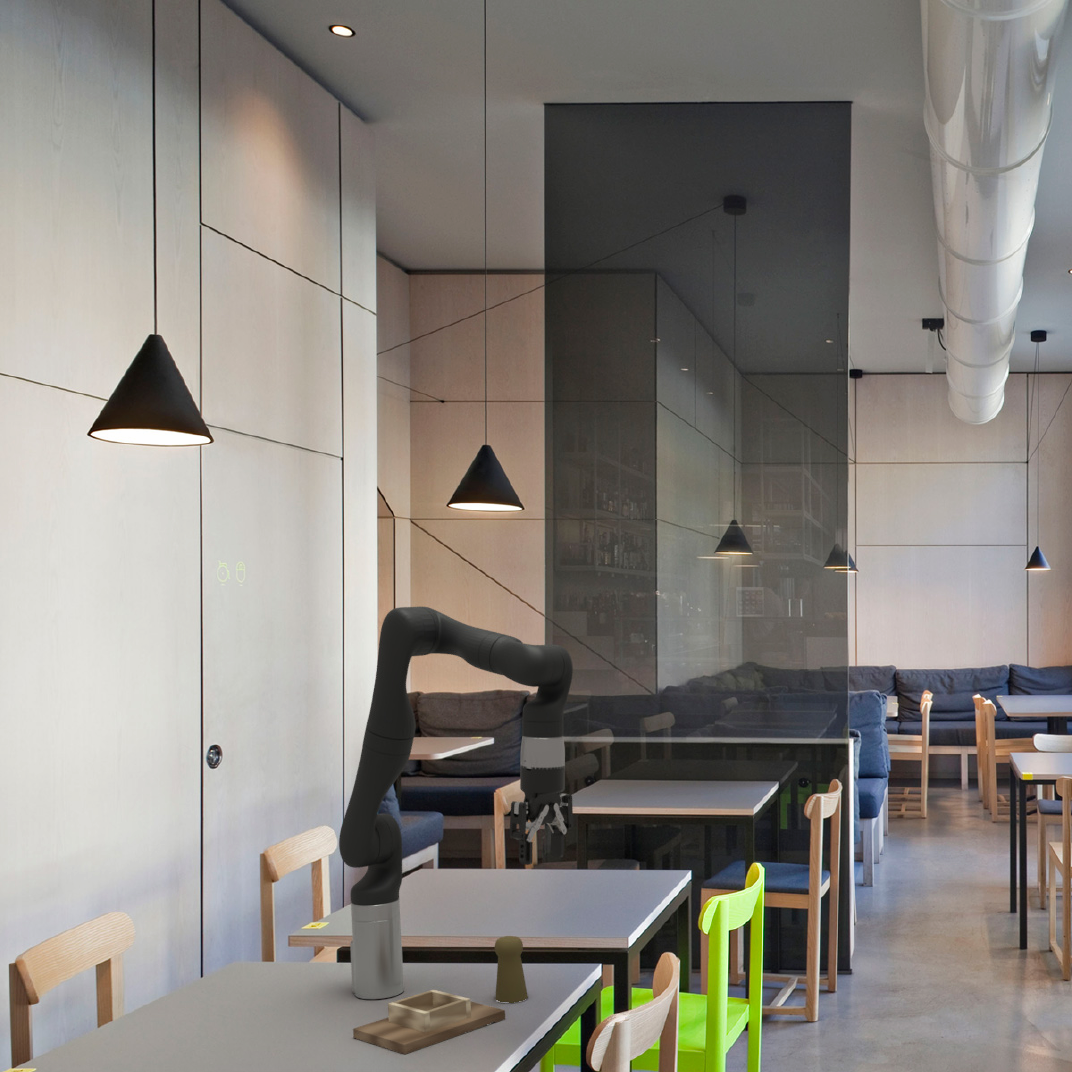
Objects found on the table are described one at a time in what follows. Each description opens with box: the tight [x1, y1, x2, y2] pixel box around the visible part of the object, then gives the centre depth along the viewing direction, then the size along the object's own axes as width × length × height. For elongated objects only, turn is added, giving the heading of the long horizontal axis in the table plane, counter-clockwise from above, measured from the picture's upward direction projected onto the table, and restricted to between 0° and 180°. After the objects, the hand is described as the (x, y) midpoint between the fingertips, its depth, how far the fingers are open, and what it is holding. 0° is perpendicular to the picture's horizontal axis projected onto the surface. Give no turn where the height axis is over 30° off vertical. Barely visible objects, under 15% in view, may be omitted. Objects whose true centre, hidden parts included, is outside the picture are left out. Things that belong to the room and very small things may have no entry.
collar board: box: [352, 989, 506, 1055], centre depth 210 cm, size 14×22×4 cm, turn 134°
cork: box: [494, 935, 529, 1004], centre depth 225 cm, size 6×6×11 cm
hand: (541, 860), depth 206 cm, fingers open, 8 cm apart
